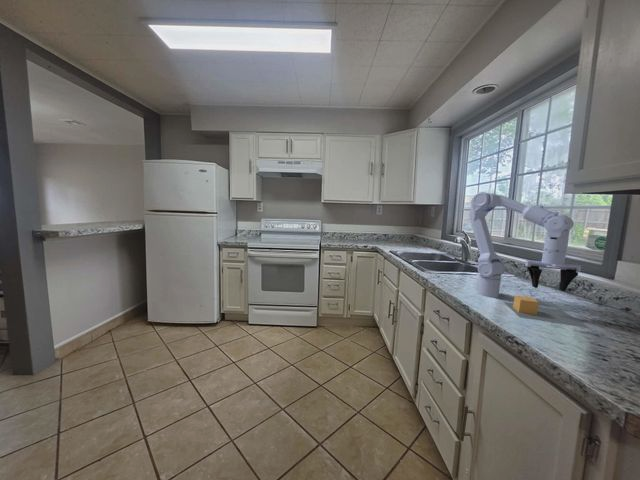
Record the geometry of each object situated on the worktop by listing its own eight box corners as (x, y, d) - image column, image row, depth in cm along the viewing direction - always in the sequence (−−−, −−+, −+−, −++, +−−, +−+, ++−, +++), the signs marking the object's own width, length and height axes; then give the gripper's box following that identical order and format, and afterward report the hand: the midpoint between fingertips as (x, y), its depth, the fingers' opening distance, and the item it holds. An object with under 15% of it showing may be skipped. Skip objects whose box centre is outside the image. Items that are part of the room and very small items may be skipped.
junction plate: (502, 304, 94) (502, 301, 94) (561, 313, 88) (562, 310, 88) (519, 320, 80) (519, 317, 80) (590, 332, 74) (591, 328, 74)
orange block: (512, 307, 89) (514, 295, 88) (529, 309, 87) (531, 297, 87) (518, 312, 84) (520, 299, 84) (536, 314, 82) (538, 302, 82)
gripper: (534, 250, 82) (528, 288, 84) (590, 254, 77) (582, 295, 79) (524, 247, 89) (519, 283, 90) (576, 251, 84) (569, 289, 86)
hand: (548, 288), depth 85 cm, fingers open, 7 cm apart
